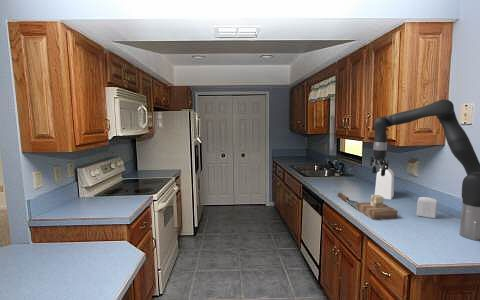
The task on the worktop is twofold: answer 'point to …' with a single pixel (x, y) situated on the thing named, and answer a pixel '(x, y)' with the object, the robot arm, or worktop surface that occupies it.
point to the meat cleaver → (348, 200)
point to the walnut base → (377, 211)
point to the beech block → (377, 201)
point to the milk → (385, 184)
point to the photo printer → (426, 207)
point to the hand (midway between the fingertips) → (378, 174)
